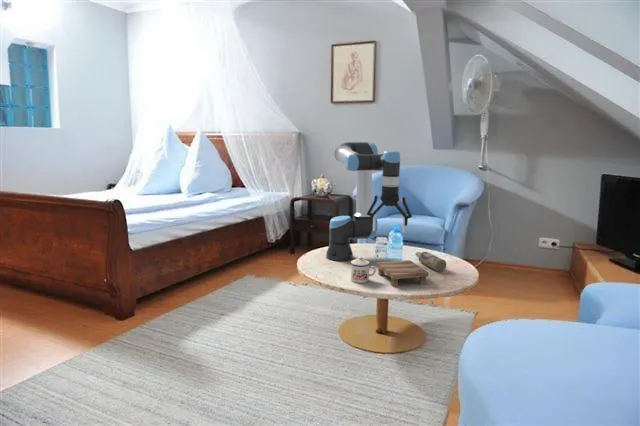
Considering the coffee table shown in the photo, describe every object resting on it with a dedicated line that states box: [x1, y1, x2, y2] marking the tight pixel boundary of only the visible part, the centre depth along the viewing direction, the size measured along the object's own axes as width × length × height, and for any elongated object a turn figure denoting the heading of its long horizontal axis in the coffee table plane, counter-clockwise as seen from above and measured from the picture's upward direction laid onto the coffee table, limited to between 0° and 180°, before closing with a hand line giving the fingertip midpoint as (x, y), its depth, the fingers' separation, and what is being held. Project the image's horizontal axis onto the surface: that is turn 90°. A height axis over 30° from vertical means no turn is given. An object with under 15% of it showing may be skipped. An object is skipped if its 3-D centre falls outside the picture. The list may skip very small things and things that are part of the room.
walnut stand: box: [376, 259, 430, 287], centre depth 209 cm, size 20×18×6 cm
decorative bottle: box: [415, 251, 448, 273], centre depth 232 cm, size 26×8×7 cm, turn 15°
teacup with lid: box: [350, 256, 377, 284], centre depth 205 cm, size 12×9×12 cm
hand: (388, 231), depth 198 cm, fingers open, 13 cm apart
